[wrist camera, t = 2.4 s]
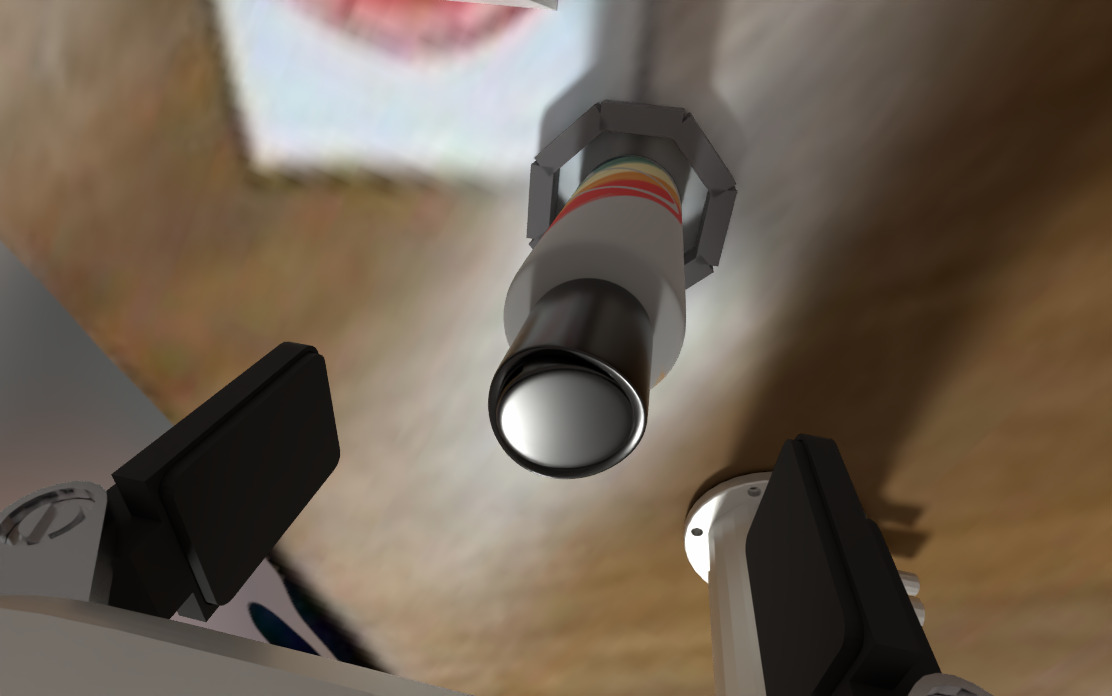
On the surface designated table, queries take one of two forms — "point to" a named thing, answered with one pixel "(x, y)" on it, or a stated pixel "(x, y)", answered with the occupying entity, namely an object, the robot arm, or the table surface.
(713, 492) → the robot arm
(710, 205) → the collar
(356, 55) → the table surface
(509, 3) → the bin
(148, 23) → the table surface
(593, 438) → the lotion bottle
